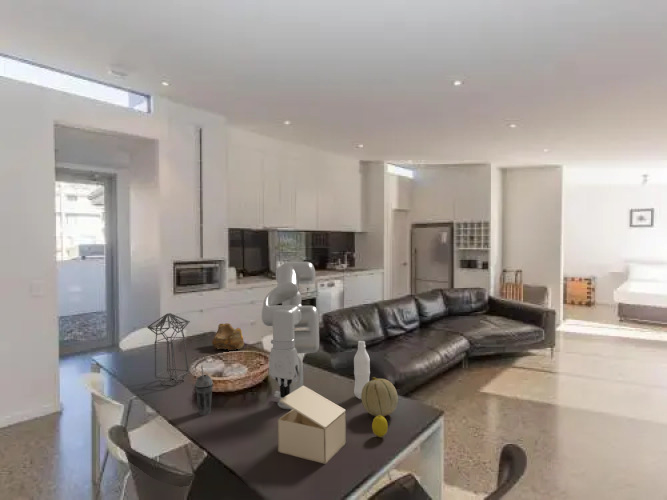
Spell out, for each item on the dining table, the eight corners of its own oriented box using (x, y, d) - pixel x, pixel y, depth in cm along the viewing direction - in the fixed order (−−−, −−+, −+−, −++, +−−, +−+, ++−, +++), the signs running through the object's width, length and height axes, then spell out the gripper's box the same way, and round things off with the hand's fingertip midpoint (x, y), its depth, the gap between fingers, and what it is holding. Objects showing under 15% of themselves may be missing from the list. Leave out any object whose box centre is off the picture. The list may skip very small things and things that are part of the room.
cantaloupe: (393, 425, 167) (393, 386, 166) (356, 420, 172) (356, 382, 171) (401, 410, 181) (401, 374, 180) (367, 406, 186) (366, 370, 185)
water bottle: (369, 400, 192) (368, 343, 191) (353, 399, 193) (352, 343, 192) (371, 394, 199) (370, 339, 198) (355, 393, 200) (354, 339, 199)
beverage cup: (217, 410, 184) (216, 362, 183) (207, 417, 177) (205, 368, 176) (202, 408, 186) (201, 361, 185) (191, 415, 179) (190, 366, 178)
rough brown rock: (205, 349, 287) (203, 326, 286) (227, 342, 299) (226, 320, 297) (223, 357, 271) (221, 333, 269) (246, 349, 282) (244, 326, 280)
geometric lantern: (175, 389, 209) (171, 316, 208) (148, 387, 214) (144, 316, 213) (195, 378, 224) (191, 310, 223) (170, 376, 229) (166, 310, 228)
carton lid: (279, 401, 146) (280, 399, 146) (302, 386, 160) (303, 385, 160) (324, 428, 139) (325, 427, 139) (345, 411, 152) (345, 409, 152)
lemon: (371, 434, 160) (370, 412, 159) (386, 433, 160) (385, 411, 160) (373, 441, 154) (373, 418, 154) (389, 440, 155) (389, 418, 154)
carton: (278, 452, 148) (277, 419, 147) (301, 433, 161) (300, 403, 161) (325, 463, 139) (324, 429, 139) (345, 443, 153) (345, 412, 152)
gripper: (260, 344, 154) (261, 396, 155) (296, 349, 147) (297, 403, 148) (272, 340, 161) (273, 389, 161) (307, 344, 154) (308, 396, 154)
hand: (284, 396), depth 154 cm, fingers closed
